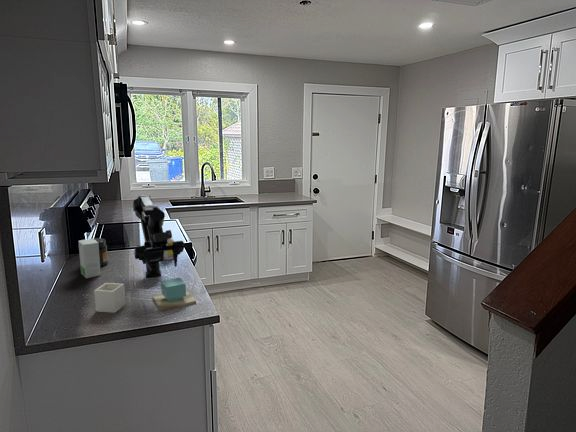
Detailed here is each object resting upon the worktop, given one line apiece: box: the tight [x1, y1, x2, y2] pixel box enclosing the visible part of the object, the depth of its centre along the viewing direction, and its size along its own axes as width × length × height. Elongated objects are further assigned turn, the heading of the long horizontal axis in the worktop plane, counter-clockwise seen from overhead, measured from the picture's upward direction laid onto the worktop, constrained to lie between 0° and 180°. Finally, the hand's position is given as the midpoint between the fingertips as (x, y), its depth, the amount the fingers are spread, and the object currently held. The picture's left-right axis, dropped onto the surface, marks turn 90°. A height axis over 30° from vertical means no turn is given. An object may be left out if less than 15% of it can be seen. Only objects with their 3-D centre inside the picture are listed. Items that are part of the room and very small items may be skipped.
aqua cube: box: [160, 277, 187, 302], centre depth 147 cm, size 7×7×6 cm
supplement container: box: [93, 237, 109, 268], centre depth 186 cm, size 10×10×12 cm
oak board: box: [152, 289, 197, 312], centre depth 147 cm, size 13×13×1 cm
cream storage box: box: [93, 282, 127, 313], centre depth 141 cm, size 7×7×8 cm
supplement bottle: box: [163, 237, 175, 261], centre depth 196 cm, size 7×7×13 cm
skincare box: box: [78, 238, 102, 279], centre depth 173 cm, size 8×7×16 cm
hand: (164, 268), depth 151 cm, fingers open, 9 cm apart
